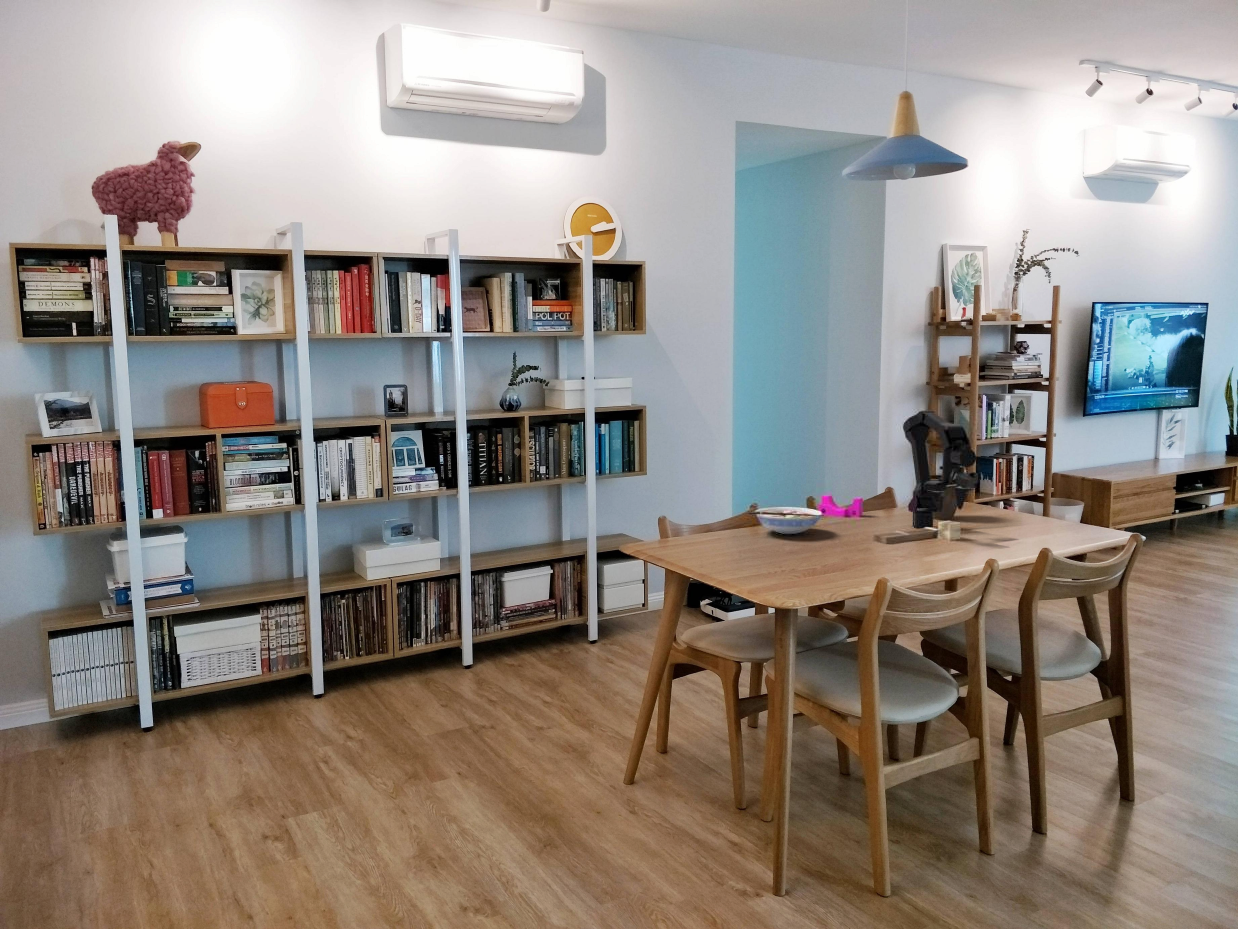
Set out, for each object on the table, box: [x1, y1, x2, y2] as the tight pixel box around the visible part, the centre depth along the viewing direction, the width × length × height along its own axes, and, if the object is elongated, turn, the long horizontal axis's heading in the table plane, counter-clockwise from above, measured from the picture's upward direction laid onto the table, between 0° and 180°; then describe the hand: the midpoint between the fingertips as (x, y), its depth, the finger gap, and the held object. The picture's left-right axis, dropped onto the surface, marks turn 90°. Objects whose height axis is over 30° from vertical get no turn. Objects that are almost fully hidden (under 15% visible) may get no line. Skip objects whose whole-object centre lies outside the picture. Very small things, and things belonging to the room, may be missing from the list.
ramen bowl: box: [748, 506, 825, 535], centre depth 334 cm, size 25×23×8 cm
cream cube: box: [934, 520, 962, 542], centre depth 323 cm, size 6×5×6 cm
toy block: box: [817, 494, 864, 518], centre depth 366 cm, size 15×6×8 cm, turn 54°
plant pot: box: [930, 474, 958, 521], centre depth 357 cm, size 15×15×16 cm
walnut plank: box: [872, 526, 938, 545], centre depth 324 cm, size 6×28×2 cm, turn 119°
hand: (950, 510), depth 321 cm, fingers open, 9 cm apart
